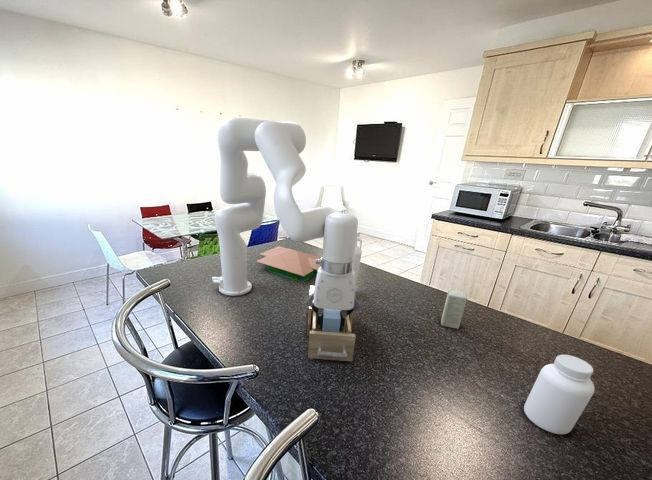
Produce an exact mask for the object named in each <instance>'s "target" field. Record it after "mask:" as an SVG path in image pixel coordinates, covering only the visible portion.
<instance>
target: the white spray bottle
mask: <svg viewBox="0 0 652 480" xmlns="http://www.w3.org/2000/svg"><path fill="white" fill-rule="evenodd" d="M359 237H361V233H360V231H359V230H357V236H356V243H355V251H354V259H353V266H352V269H353V270H354V272H355V279H356V283H357V282H358V281H357V280H358V275H359V271H360V264H361V260H362V253H363V251H362V246H363V245H362V244H363V240H362V239H361V238H359ZM358 242H359V246H358ZM357 291H358V288H357V284H356V285H355V292H357Z"/></svg>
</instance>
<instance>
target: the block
mask: <svg viewBox="0 0 652 480" xmlns="http://www.w3.org/2000/svg"><path fill="white" fill-rule="evenodd" d="M340 321H341V317H340V310H330V309H324V311H323V327H322V332H334V333H339V329H340Z"/></svg>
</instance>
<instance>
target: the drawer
mask: <svg viewBox="0 0 652 480" xmlns="http://www.w3.org/2000/svg"><path fill="white" fill-rule="evenodd" d="M308 337H309V338H308V352H307V358H308V359H315V360H330V361H339V362H353V357H354V351H355V345H356V338H357V337H356V333H352V329H351V325H350V319H349V315H348V316H347V317H346V318H345V325H344V326H342V331H339V333H334V332H322V329H320V325H318V315H317V313H316V312H315V311H313V318H312V331H310V335H309V336H308Z"/></svg>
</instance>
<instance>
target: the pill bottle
mask: <svg viewBox="0 0 652 480" xmlns="http://www.w3.org/2000/svg"><path fill="white" fill-rule="evenodd" d="M593 373H594V368H593V367H592V365H591V364H590V363H589V362H587V361H585V360H583V359H581V358H580V357H577V356H574V355H569V354H558V355H556V357H555V360H554V362H553V363H548V364H546V365H543V367H542V368H541V369H540V371H539V373H538V375H537V378H536V379H535V381H534V384H533V385H532V388H531V390H530V392H529V394H528V396H527V398H526V401H525V403H524V406H523V411H524V414H525V416H526V417H527V418H528V420H529V421H531V422H532V423H533V424H534V425H535V426H537V427H538V428H541V429H542V430H544V431H546V432H548V433H551V434H556V435H566V434H569V433H570V432H571V431H572V430H573V429H574V427H575V425H576V424H577V422H578V420H579V418H580V417H581V416H582V414H583V412H584V410H585V409H586V407H587V406H588V404H589V402H590V400H591V399H592V396H593V395H594V394H595V384H594V382H593V380H591V377H592V376H593Z"/></svg>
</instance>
